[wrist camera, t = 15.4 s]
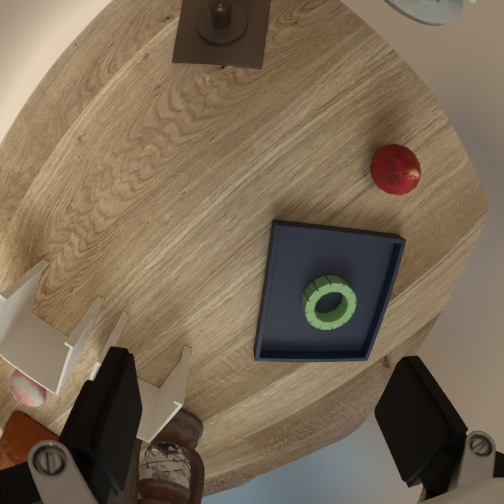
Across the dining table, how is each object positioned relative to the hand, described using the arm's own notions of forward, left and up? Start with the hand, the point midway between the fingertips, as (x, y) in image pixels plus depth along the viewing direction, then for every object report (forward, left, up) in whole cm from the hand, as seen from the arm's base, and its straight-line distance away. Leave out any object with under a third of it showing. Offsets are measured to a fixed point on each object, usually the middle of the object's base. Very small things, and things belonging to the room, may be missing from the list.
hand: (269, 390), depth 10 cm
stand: (+5, -21, -28) cm, 35 cm away
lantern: (+9, +40, -28) cm, 49 cm away
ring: (-12, +11, -27) cm, 32 cm away
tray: (-12, +11, -28) cm, 32 cm away
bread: (+48, +62, -28) cm, 83 cm away
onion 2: (-16, -7, -28) cm, 33 cm away
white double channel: (+19, +20, -28) cm, 39 cm away
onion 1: (+36, +34, -28) cm, 56 cm away
